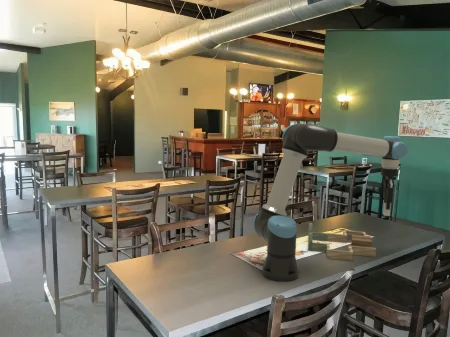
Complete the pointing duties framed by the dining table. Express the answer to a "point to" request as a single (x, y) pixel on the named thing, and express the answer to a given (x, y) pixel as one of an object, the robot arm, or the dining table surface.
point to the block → (361, 241)
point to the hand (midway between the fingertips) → (386, 215)
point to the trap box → (338, 238)
